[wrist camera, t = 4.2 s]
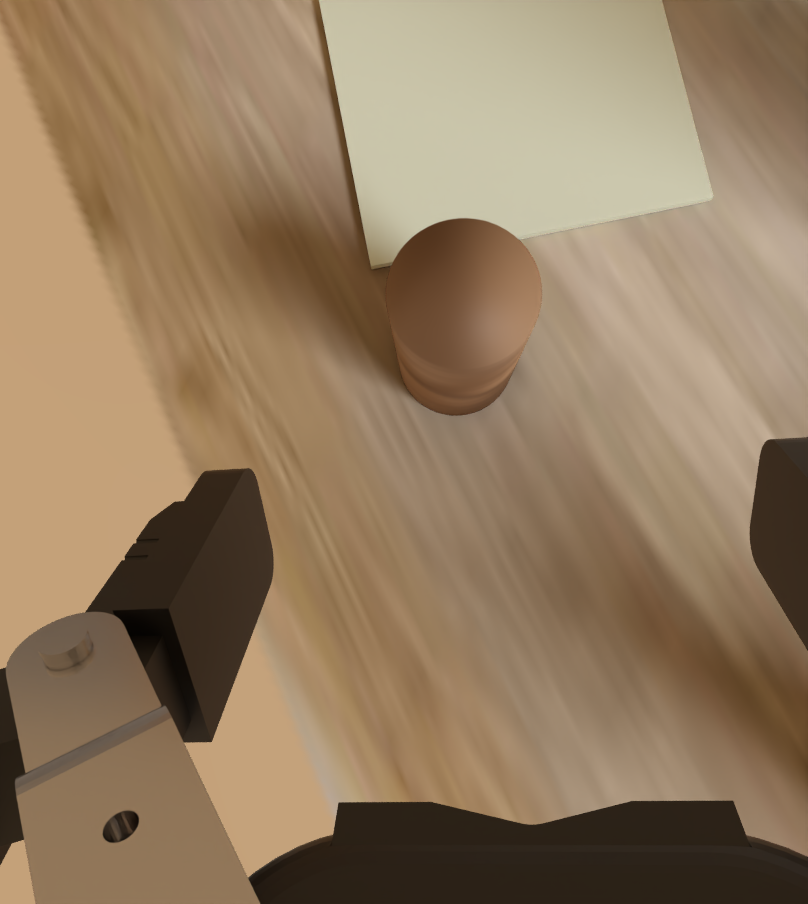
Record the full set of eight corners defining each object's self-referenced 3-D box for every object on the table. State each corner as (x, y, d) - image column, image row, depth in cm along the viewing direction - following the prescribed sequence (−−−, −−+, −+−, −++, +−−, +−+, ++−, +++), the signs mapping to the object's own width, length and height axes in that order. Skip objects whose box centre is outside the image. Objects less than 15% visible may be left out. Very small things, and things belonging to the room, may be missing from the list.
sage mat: (640, -67, 35) (642, -73, 34) (710, 200, 33) (713, 196, 33) (319, 1, 35) (318, -5, 35) (371, 269, 33) (370, 266, 33)
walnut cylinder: (499, 294, 33) (523, 204, 24) (523, 403, 32) (557, 351, 23) (389, 316, 33) (372, 234, 24) (411, 425, 32) (401, 382, 23)
